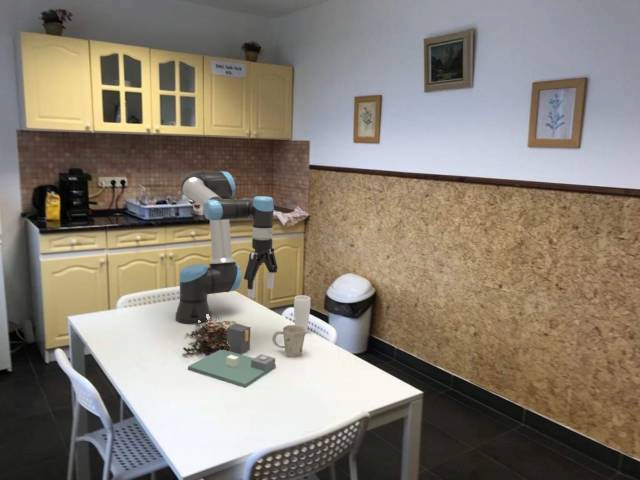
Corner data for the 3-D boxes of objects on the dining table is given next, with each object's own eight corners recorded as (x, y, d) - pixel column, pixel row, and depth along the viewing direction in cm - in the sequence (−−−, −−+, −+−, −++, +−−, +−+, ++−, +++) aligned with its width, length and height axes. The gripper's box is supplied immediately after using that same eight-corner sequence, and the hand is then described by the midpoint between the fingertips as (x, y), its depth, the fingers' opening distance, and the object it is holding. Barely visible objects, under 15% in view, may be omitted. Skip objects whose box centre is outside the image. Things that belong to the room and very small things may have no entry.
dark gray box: (226, 350, 194) (226, 327, 192) (235, 345, 198) (236, 323, 197) (242, 354, 190) (242, 331, 189) (251, 349, 195) (251, 327, 194)
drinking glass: (308, 335, 213) (310, 300, 210) (292, 334, 213) (293, 299, 210) (309, 329, 219) (311, 295, 217) (293, 328, 220) (294, 294, 217)
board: (188, 369, 176) (188, 357, 176) (221, 352, 192) (221, 341, 191) (245, 387, 165) (245, 375, 165) (275, 367, 181) (276, 356, 180)
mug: (301, 359, 189) (302, 333, 187) (268, 355, 191) (269, 329, 189) (306, 351, 197) (307, 326, 195) (274, 347, 199) (275, 322, 197)
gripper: (252, 244, 180) (251, 302, 184) (287, 234, 202) (285, 286, 206) (234, 241, 183) (233, 299, 187) (270, 232, 206) (269, 283, 209)
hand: (260, 292), depth 197 cm, fingers open, 13 cm apart
